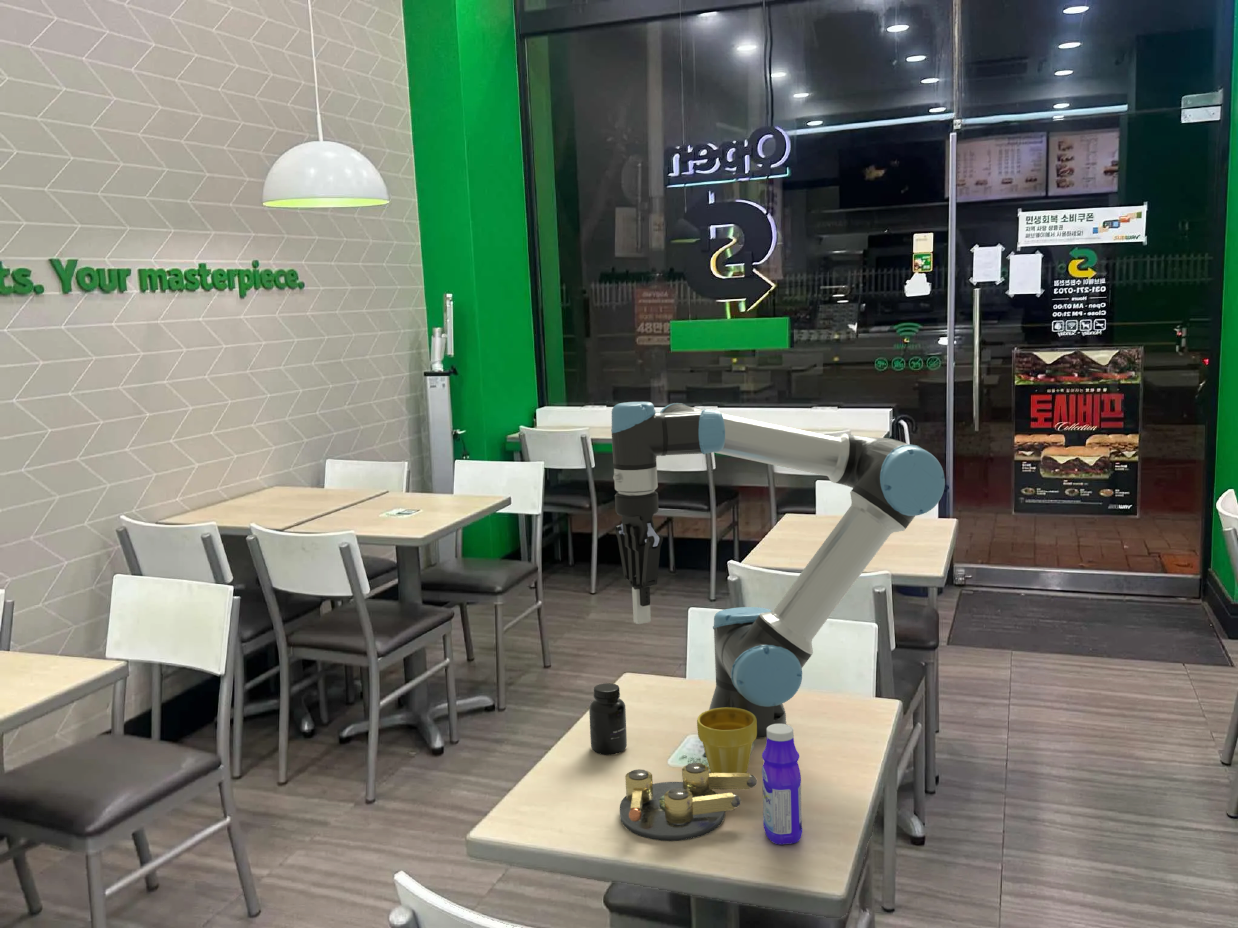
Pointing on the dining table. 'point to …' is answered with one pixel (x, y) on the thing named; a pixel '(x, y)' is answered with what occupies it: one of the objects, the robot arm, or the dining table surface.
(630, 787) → the knob
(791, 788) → the bottle
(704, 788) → the knob left
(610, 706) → the supplement bottle
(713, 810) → the knob
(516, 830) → the dining table surface
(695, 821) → the tribrach plate
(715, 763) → the plant pot
